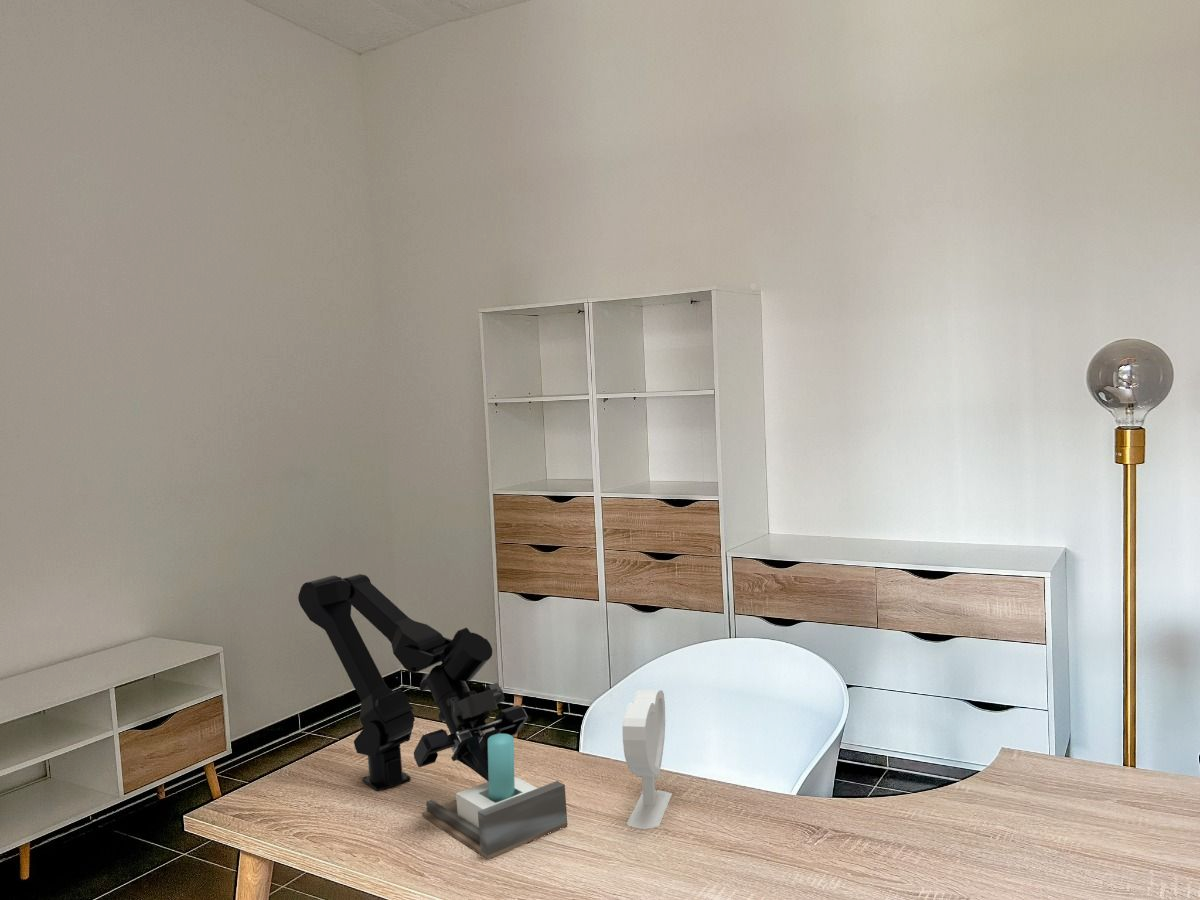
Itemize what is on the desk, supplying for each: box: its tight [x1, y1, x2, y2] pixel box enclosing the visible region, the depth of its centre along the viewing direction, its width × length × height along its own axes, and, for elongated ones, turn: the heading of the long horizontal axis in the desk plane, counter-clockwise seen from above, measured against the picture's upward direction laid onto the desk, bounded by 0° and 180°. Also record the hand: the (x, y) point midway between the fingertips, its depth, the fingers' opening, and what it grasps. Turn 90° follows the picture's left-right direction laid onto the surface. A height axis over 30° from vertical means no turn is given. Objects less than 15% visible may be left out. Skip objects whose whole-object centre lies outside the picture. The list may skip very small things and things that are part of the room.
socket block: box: [455, 775, 538, 829], centre depth 149 cm, size 10×10×5 cm
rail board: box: [421, 780, 568, 860], centre depth 151 cm, size 20×14×7 cm
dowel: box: [488, 734, 515, 803], centre depth 148 cm, size 4×4×13 cm
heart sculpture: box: [621, 689, 673, 830], centre depth 152 cm, size 16×5×18 cm, turn 165°
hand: (494, 782), depth 150 cm, fingers closed, pressing on dowel
